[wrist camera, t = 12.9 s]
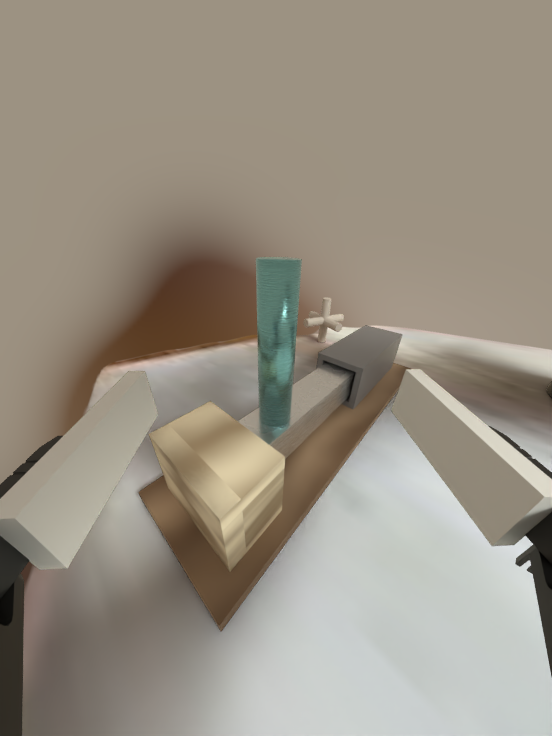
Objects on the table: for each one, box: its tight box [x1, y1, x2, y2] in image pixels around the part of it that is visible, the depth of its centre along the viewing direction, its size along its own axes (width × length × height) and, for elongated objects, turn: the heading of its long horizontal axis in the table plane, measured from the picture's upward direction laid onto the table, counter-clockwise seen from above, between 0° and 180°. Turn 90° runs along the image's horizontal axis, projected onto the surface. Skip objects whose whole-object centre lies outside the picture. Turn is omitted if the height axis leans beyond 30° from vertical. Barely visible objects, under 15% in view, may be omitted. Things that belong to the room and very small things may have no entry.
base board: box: [138, 363, 411, 631], centre depth 31 cm, size 12×42×1 cm, turn 138°
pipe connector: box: [304, 298, 344, 343], centre depth 52 cm, size 10×10×10 cm
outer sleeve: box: [317, 326, 402, 409], centre depth 36 cm, size 6×16×6 cm, turn 138°
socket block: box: [149, 401, 285, 572], centre depth 18 cm, size 9×6×7 cm, turn 48°
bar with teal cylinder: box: [238, 257, 356, 459], centre depth 22 cm, size 4×24×18 cm, turn 138°
